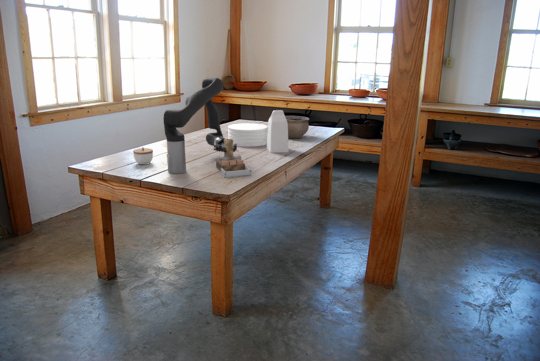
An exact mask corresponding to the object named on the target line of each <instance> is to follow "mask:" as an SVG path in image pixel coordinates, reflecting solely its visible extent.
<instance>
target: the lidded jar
mask: <svg viewBox="0 0 540 361" xmlns="http://www.w3.org/2000/svg"><path fill="white" fill-rule="evenodd" d="M132 152H133V158H134V160H135V162H136V163H137V164H138V165H139V164H147V165H149V164H150V163H151V162H152V161H153V156H154V153H153V152H154V150H153V149H152V148H146V147H143V146H141V148H137V149H134V150H132ZM148 163H149V164H148Z"/></svg>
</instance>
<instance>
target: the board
mask: <svg viewBox="0 0 540 361" xmlns="http://www.w3.org/2000/svg"><path fill="white" fill-rule="evenodd" d="M245 166H246V164H245V162H243V164H236V165H226V166H222V165H221V164H220V163H219V160H215V168H216V170H218V171H219V172H220V173H221V168H222V169H223V170H224V171H225V172H228V171H238V170H245Z"/></svg>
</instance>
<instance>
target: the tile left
mask: <svg viewBox="0 0 540 361" xmlns="http://www.w3.org/2000/svg"><path fill="white" fill-rule="evenodd" d="M221 165H222V166H226V165H229V161H228V160H222V161H221Z"/></svg>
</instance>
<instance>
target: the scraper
mask: <svg viewBox="0 0 540 361" xmlns="http://www.w3.org/2000/svg"><path fill="white" fill-rule="evenodd" d="M224 147H225V148H226V149H227V153H225V152H223V154H224V155H223V157H222V156H221V157H218V161H219V163H220V164H221V161H222V160H235V159H242V156H241V155H234V152H233V140H232V139H228V138H225V139H224Z"/></svg>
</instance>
